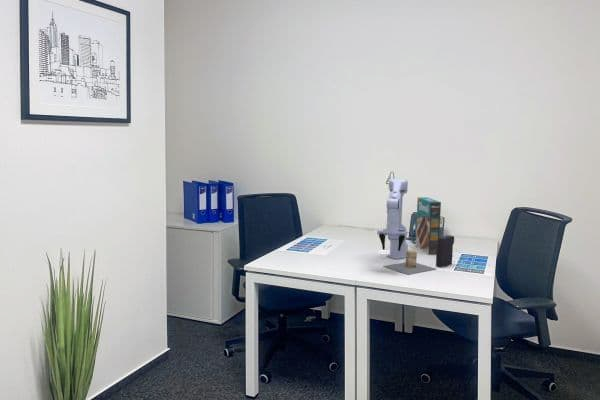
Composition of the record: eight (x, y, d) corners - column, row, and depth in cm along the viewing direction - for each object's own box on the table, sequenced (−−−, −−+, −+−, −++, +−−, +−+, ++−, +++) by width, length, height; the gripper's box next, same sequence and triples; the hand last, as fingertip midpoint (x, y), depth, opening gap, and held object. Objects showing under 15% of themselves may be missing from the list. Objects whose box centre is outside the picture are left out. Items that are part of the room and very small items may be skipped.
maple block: (405, 265, 268) (406, 250, 267) (413, 265, 269) (413, 250, 268) (408, 267, 264) (409, 252, 263) (416, 267, 265) (416, 252, 264)
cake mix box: (415, 246, 316) (417, 197, 312) (425, 246, 316) (427, 197, 312) (428, 254, 294) (430, 202, 290) (438, 254, 295) (440, 202, 291)
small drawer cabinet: (445, 262, 277) (447, 234, 275) (453, 264, 274) (454, 236, 272) (434, 266, 269) (436, 237, 267) (442, 267, 266) (443, 238, 264)
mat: (410, 261, 277) (410, 261, 277) (436, 269, 262) (436, 268, 262) (382, 266, 267) (382, 266, 267) (407, 274, 252) (407, 274, 252)
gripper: (376, 221, 256) (375, 249, 256) (406, 223, 251) (404, 251, 251) (379, 221, 263) (378, 248, 262) (408, 223, 258) (407, 250, 257)
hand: (391, 250), depth 257 cm, fingers open, 7 cm apart
